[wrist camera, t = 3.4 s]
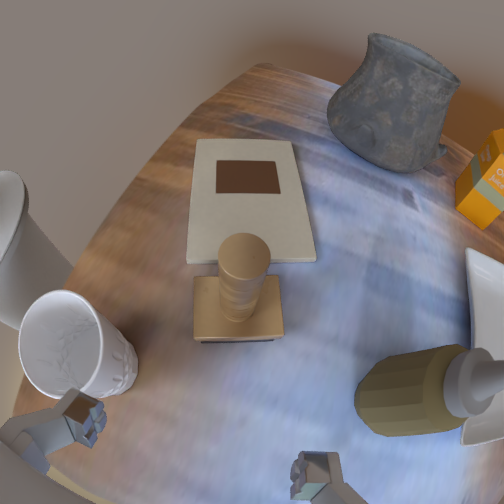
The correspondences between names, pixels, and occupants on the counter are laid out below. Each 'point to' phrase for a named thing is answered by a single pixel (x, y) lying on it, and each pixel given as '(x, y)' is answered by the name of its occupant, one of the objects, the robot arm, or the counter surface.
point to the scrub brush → (238, 295)
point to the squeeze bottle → (428, 390)
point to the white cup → (74, 348)
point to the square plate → (485, 339)
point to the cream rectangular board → (248, 199)
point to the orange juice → (483, 183)
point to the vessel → (394, 106)
